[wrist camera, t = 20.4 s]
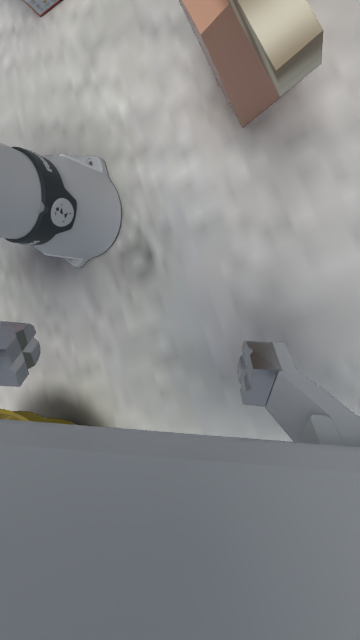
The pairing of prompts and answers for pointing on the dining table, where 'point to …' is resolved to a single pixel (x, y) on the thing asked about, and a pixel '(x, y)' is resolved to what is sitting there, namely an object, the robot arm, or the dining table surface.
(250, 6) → the beige bar
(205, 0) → the terracotta post
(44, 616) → the robot arm
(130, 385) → the dining table surface
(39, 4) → the cracker box
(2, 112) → the dining table surface
